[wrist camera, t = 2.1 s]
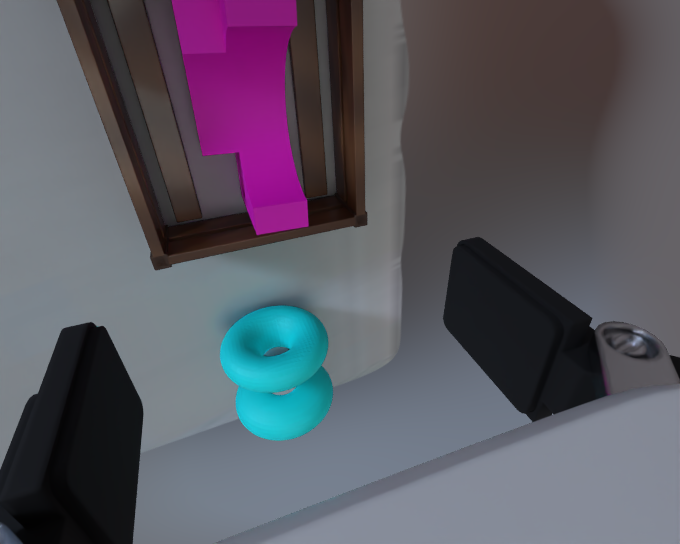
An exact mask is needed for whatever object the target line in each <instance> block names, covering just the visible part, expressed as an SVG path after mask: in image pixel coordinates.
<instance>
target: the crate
mask: <svg viewBox="0 0 680 544" xmlns="http://www.w3.org/2000/svg"><path fill="white" fill-rule="evenodd" d="M107 1H108V4H109V8H110V11H111V14H112V17H113V20H114V23H115V27H116V30H117V33H118V36H119V39H120V43H121V46H122V49H123V52H124V55H125V58H126V62H127V65H128V68H129V71H130V74H131V77H132V81H133V84H134V87H135V90H136V93H137V96H138V100H139V103H140V106H141V109H142V112H143V115H144V119H145V122H146V125H147V128H148V131H149V134H150V138H151V141H152V144H153V147H154V150H155V154H156V157H157V160H158V163H159V166H160V169H161V173H162V176H163V179H164V182H165V185H166V188H167V192H168V195H169V198H170V201H171V204H172V207H173V211H174V214H175V217H176V220H177V222H184V221H189V220H194V219H200V218H202V214H201V210H200V207H199V203H198V199H197V196H196V192H195V188H194V185H193V181H192V177H191V174H190V170H189V166H188V162H187V159H186V155H185V151H184V148H183V144H182V140H181V137H180V133H179V129H178V126H177V122H176V118H175V115H174V111H173V107H172V104H171V100H170V96H169V93H168V89H167V85H166V82H165V78H164V74H163V71H162V67H161V63H160V60H159V56H158V52H157V49H156V45H155V41H154V38H153V34H152V30H151V27H150V23H149V19H148V16H147V12H146V8H145V5H144V1H143V0H107ZM57 3H58V5H59V8H60V11H61V13H62V16H63V18H64V21H65V24H66V26H67V29H68V32H69V34H70V37H71V40H72V42H73V45H74V48H75V50H76V53H77V56H78V58H79V61H80V64H81V66H82V69H83V72H84V74H85V77H86V80H87V82H88V85H89V88H90V90H91V93H92V96H93V98H94V101H95V104H96V106H97V109H98V112H99V114H100V117H101V120H102V122H103V125H104V128H105V130H106V133H107V136H108V138H109V141H110V144H111V146H112V149H113V152H114V154H115V157H116V160H117V162H118V165H119V168H120V170H121V173H122V176H123V178H124V181H125V184H126V186H127V189H128V192H129V194H130V197H131V200H132V202H133V205H134V208H135V210H136V213H137V216H138V218H139V221H140V224H141V226H142V229H143V232H144V234H145V237H146V240H147V242H148V245H149V248H150V250H151V254H150V259H151V261H152V264H153V266H154V269H155V270H160V269H165V268H169V267H172V264H176V263H181V262H186V261H190V260H195V259H200V258H204V257H209V256H214V255H219V254H223V253H228V252H233V251H237V250H242V249H247V248H251V247H256V246H261V245H266V244H270V243H275V242H280V241H284V240H289V239H294V238H298V237H303V236H308V235H313V234H317V233H322V232H327V231H331V230H336V229H341V228H345V227H350V226H354V227H360V226H365V225H367V212H366V211H365V151H364V68H363V0H326V10H327V28H328V46H329V64H330V82H331V100H332V118H333V136H334V154H335V172H336V190H337V193H335V196H329V197H324V198H319V199H313V200H308V201H307V208H308V227H302V228H296V229H290V230H284V231H278V232H272V233H266V234H260V235H257V234H256V232H255V229H254V226H253V224H252V221H251V219H250V216H249V213H248V212H245V213H239V214H234V215H229V216H224V217H218V218H213V219H208V220H202V221H197V222H192V223H187V224H181V225H176V226H171V227H168V225H165V223H164V220H163V217H162V214H161V211H160V208H159V205H158V202H157V199H156V196H155V193H154V190H153V187H152V184H151V181H150V178H149V175H148V172H147V169H146V167H145V164H144V161H143V158H142V155H141V152H140V149H139V146H138V143H137V140H136V137H135V134H134V131H133V128H132V125H131V122H130V119H129V116H128V113H127V110H126V107H125V104H124V101H123V98H122V95H121V92H120V89H119V86H118V83H117V80H116V77H115V74H114V71H113V68H112V65H111V62H110V59H109V56H108V53H107V50H106V48H105V45H104V42H103V39H102V36H101V33H100V30H99V27H98V24H97V21H96V18H95V15H94V12H93V9H92V6H91V3H90V0H57ZM296 10H297V26H296V27H295V28H294V29H293V31H292V33H291V35H290V38H289V48H290V58H291V67H292V77H293V86H294V96H295V105H296V115H297V124H298V134H299V144H300V153H301V163H302V172H303V182H304V191H305V197H306V198H311V197H317V196H322V195H327V180H326V166H325V152H324V138H323V123H322V109H321V95H320V80H319V66H318V52H317V38H316V23H315V9H314V0H296Z"/></svg>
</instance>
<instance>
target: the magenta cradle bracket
mask: <svg viewBox="0 0 680 544" xmlns="http://www.w3.org/2000/svg"><path fill="white" fill-rule="evenodd" d="M171 1H172V6H173V11H174V16H175V21H176V26H177V31H178V36H179V41H180V46H181V51H182V56H183V61H184V66H185V71H186V76H187V81H188V86H189V91H190V96H191V101H192V106H193V111H194V116H195V121H196V126H197V131H198V136H199V141H200V146H201V150H202V155H203V156H207V155H217V154H227V153H235V155H236V162H237V168H238V175H239V181H240V188H241V195H242V198H243V200H244V203H245V206H246V208H247V211H248V213H249V216H250V219H251V221H252V224H253V226H254V229H255V232H256V234H257V235H260V234H266V233H272V232H278V231H284V230H290V229H296V228H302V227H308V208H307V199H306V197H305V195H304V193H303V191H302V188H301V186H300V183H299V180H298V176H297V173H296V169H295V165H294V161H293V156H292V151H291V146H290V140H289V133H288V125H287V116H286V104H285V63H286V53H287V47H288V42H289V38H290V35H291V33H292V31H293V29H294V28H295V27H296V26H297V10H296V0H171Z"/></svg>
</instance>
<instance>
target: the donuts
mask: <svg viewBox="0 0 680 544" xmlns="http://www.w3.org/2000/svg"><path fill="white" fill-rule="evenodd" d="M275 347H286V348H289V349H290V350H288V351H287V352H285V353H283V354H280V355H276V356H263V355H264V354H265V353H266V352H267V351H268V350H270V349H272V348H275ZM327 350H328V336H327V332H326V330H325V327H324V326H323V324H322V323H321V321H320V320H319V319H318V318H317V317H316V316H315V315H313V314H312V313H310V312H308V311H306V310H304V309H301V308H298V307H294V306H286V305H279V306H270V307H265V308H261V309H258V310H256V311H253V312H251V313H249V314H247V315H245V316H244V317H242V318H241V319H239V320H238V321H237V322H236V323H235V324H234V325H233V326H232V327H231V328H230V329H229V330H228V332H227V333H226V335H225V337H224V339H223V342H222V344H221V349H220V360H221V364H222V367H223V369H224V371H225V373H226V374H227V376H228V377H229V378H230V379H231V380H232V381H233V382H234V383H236V384H237V385H239V388H238V390H237V394H236V410H237V414H238V416H239V419H240V420H241V422H242V423H243V425H244V426H245V427H246V428H247V429H248V430H249V431H250V432H252V433H253V434H255V435H257V436H259V437H262V438H264V439H268V440H277V441H280V440H289V439H294V438H297V437H299V436H302V435H304V434H306V433H307V432H309V431H311V430H312V429H314V428H315V427H316V426H317V425H318V424H319V423H320V422H321V421H322V420H323V418H324V417H325V416H326V414H327V413H328V411H329V408H330V406H331V403H332V398H333V386H332V382H331V379H330V377H329V375H328V373H327V371H326V370H325V369H324V368H323V367H322V366H321V365H322V363H323V362H324V360H325V357H326V354H327ZM294 387H296V388H295V389H294V390H293V391H292V392H290V393H288V394H285V395H275V394H273V393H275V392H281V391H285V390H289V389H291V388H294Z"/></svg>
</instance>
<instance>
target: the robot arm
mask: <svg viewBox="0 0 680 544" xmlns="http://www.w3.org/2000/svg"><path fill="white" fill-rule="evenodd" d="M443 320H444V324H445V326H446V328H447V329H448V330H449V332H450V333H451V334H452V335H453V336H454V337H455V339H456V340H457V341H458V342H459V343H460V344H461V345H462V347H463V348H464V349H465V350H466V351H467V352H468V354H469V355H470V356H471V357H472V358H473V359H474V360H475V362H476V363H477V364H478V365H479V366H480V367H481V369H483V371H484V372H485V373H486V374H487V375H488V376H489V378H490V379H491V380H492V381H493V382H494V383H495V385H496V386H497V387H498V388H499V389H500V390H501V391H502V393H503V394H504V395H505V396H506V397H507V398H508V399H509V401H510V402H511V403H512V404H513V405H514V406H515V408H516V409H517V410H518V411H519V412H521V413H525V414H526V415H527V416H528V417H529V418H530V419H531V420H532V423H529V424H527V425H524V426H521V427H519V428H516V429H514V430H511V431H508V432H505V433H502V434H500V435H497V436H494V437H492V438H489V439H486V440H484V441H481V442H478V443H476V444H473V445H470V446H468V447H465V448H462V449H460V450H457V451H454V452H452V453H449V454H446V455H444V456H441V457H438V458H436V459H433V460H431V461H428V462H425V463H422V464H420V465H417V466H415V467H412V468H409V469H407V470H404V471H402V472H399V473H396V474H393V475H391V476H388V477H386V478H383V479H380V480H378V481H375V482H372V483H370V484H367V485H364V486H362V487H359V488H356V489H354V490H351V491H349V492H346V493H343V494H341V495H338V496H336V497H333V498H330V499H328V500H325V501H323V502H320V503H317V504H315V505H312V506H310V507H307V508H304V509H302V510H299V511H296V512H294V513H291V514H289V515H286V516H284V517H281V518H278V519H276V520H273V521H270V522H268V523H265V524H263V525H260V526H257V527H255V528H252V529H250V530H247V531H244V532H242V533H239V534H237V535H235V536H232V537H229V538H227V539H224V540H221V541H219V542H216V543H214V544H680V358H679V357H675V356H671V355H669V353H668V351H667V349H666V347H665V346H664V344H663V343H662V342H661V341H660V340H659V339H658V338H657V337H656V336H655V335H653V334H651V333H650V332H648V331H646V330H645V329H642V328H640V327H637V326H635V325H632V324H628V323H624V322H615V321H613V322H605V323H602V324H600V325H598V327H597V328H596V329H595V330H594V329H592V328H591V327H590V326H589V325H590V323H591V320H592V318H591V317H590V316H589V315H587V314H586V313H585V312H583V311H582V310H580V309H579V308H578V307H576V306H575V305H574V304H572V303H571V302H569V301H568V300H567V299H565V298H564V297H562V296H561V295H560V294H558V293H557V292H556V291H554V290H553V289H551V288H550V287H549V286H547V285H546V284H544V283H543V282H542V281H540V280H539V279H537V278H536V277H535V276H533V275H532V274H530V273H529V272H528V271H527V270H525V269H524V268H522V267H521V266H520V265H518V264H517V263H515V262H514V261H512V260H511V259H510V258H509V257H507V256H506V255H504V254H503V253H502V252H500V251H499V250H497V249H496V248H494V247H493V246H492V245H491V244H489V243H488V242H486V241H485V240H484V239H482V238H480V237H475V238H471V239H467V240H462V241H460V242H459V243H458V244H457V247H455V248H454V250H453V254H452V260H451V267H450V275H449V282H448V288H447V295H446V302H445V309H444V316H443ZM552 413H553V414H554V415H552ZM142 425H143V406H142V402H141V399H140V397H139V395H138V393H137V391H136V389H135V387H134V385H133V383H132V381H131V379H130V377H129V375H128V373H127V371H126V369H125V367H124V365H123V362H122V360H121V358H120V356H119V354H118V352H117V350H116V348H115V346H114V344H113V342H112V340H111V338H110V336H109V334H108V332H107V330H106V328H105V327H104V326H100V327H96V325H95V324H94V323H92V322H89V323H85V324H80V325H76V326H71V327H66V328H64V329H62V331H61V333H60V335H59V338H58V341H57V343H56V346H55V349H54V352H53V354H52V357H51V360H50V362H49V365H48V368H47V371H46V373H45V376H44V379H43V381H42V384H41V387H40V390H39V392H38V394H35V395H33V396H32V397H30V398H29V400H28V402H27V403H26V405H25V408H24V410H23V413H22V415H21V418H20V421H19V423H18V426H17V428H16V431H15V433H14V436H13V439H12V441H11V444H10V446H9V449H8V451H7V454H6V456H5V459H4V462H3V464H2V467H1V469H0V544H133V532H134V531H133V530H134V520H135V508H136V496H137V484H138V472H139V461H140V449H141V437H142Z"/></svg>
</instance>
